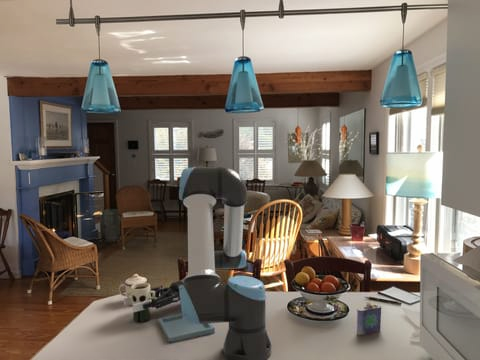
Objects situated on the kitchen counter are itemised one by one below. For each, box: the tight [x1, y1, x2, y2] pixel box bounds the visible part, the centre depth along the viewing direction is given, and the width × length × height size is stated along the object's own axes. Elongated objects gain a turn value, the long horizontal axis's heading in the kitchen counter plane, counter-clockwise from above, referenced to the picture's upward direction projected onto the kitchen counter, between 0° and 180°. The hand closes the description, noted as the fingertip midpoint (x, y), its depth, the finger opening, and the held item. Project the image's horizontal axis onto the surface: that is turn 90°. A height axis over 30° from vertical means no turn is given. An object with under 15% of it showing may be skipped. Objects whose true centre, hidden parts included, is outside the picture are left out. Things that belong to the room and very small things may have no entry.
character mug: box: [127, 282, 155, 322], centre depth 147 cm, size 11×7×13 cm, turn 86°
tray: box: [158, 313, 216, 344], centre depth 140 cm, size 16×16×2 cm
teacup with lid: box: [118, 273, 148, 306], centre depth 164 cm, size 12×9×12 cm
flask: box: [356, 301, 382, 336], centre depth 135 cm, size 9×3×11 cm, turn 109°
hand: (128, 304), depth 144 cm, fingers closed on character mug, 8 cm apart
